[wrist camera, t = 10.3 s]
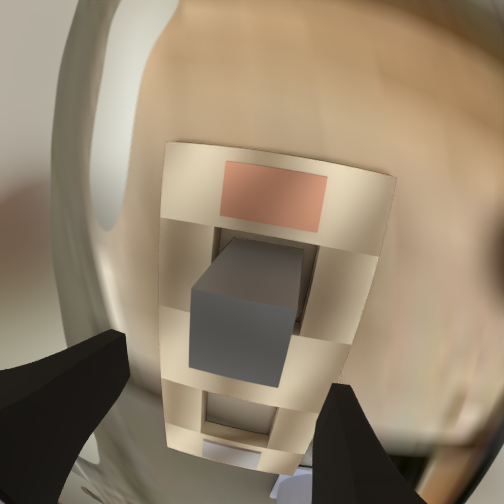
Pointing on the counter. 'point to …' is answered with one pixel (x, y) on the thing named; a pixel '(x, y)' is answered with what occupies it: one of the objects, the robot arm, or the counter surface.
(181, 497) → the counter surface
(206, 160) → the socket board
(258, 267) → the plug
